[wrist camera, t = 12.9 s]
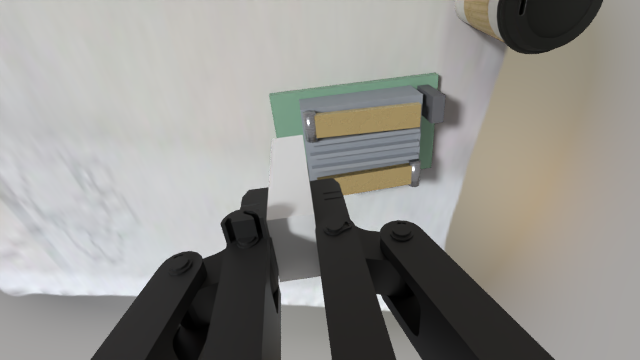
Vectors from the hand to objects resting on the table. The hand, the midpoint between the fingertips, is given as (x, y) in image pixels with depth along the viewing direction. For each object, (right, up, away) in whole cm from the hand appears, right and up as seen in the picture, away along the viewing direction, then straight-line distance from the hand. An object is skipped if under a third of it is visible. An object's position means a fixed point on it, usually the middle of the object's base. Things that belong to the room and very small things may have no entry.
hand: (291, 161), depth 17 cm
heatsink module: (+7, +7, +35) cm, 36 cm away
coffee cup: (+22, +23, +27) cm, 42 cm away
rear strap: (+8, -1, +31) cm, 32 cm away
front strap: (+7, +7, +27) cm, 28 cm away
